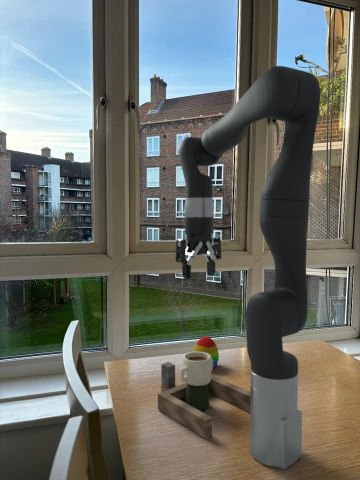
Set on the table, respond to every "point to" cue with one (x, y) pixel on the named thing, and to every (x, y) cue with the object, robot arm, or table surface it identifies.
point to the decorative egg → (208, 348)
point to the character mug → (197, 378)
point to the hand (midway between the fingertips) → (199, 277)
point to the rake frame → (187, 415)
